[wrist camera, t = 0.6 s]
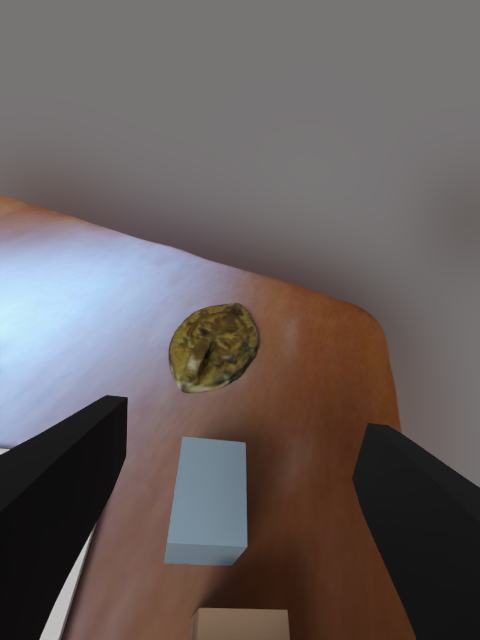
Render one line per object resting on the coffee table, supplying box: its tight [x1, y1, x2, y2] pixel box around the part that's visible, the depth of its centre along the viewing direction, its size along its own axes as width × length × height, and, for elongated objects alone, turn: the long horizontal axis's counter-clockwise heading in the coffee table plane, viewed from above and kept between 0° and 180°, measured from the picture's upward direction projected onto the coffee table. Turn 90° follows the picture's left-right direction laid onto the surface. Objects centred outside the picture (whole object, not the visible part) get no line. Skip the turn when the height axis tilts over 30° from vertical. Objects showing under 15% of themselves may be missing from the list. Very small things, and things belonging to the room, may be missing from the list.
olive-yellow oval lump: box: [169, 303, 259, 393], centre depth 34 cm, size 9×5×15 cm
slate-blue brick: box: [164, 437, 247, 566], centre depth 20 cm, size 6×4×5 cm
